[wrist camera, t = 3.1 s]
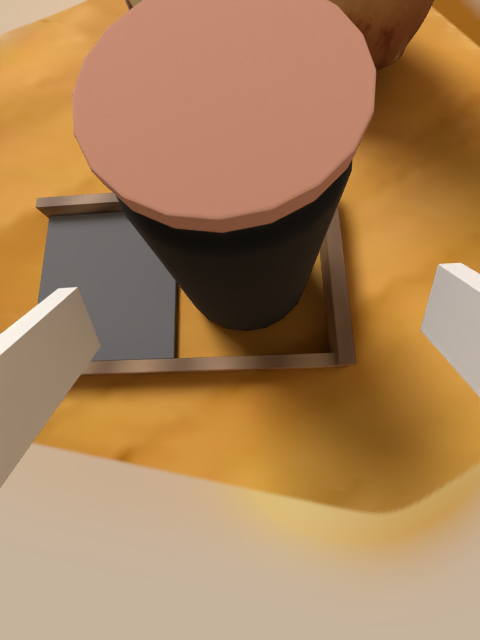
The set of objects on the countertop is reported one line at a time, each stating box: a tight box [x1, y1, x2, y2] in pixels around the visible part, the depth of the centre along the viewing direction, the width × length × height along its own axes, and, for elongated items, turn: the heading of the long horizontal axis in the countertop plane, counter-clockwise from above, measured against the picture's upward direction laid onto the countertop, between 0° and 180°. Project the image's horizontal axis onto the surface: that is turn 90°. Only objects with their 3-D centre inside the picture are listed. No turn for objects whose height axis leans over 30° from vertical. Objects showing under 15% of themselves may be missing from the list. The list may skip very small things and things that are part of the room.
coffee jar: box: [72, 0, 376, 331], centre depth 19 cm, size 11×11×18 cm
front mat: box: [38, 212, 177, 361], centre depth 28 cm, size 13×15×1 cm
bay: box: [36, 193, 356, 376], centre depth 27 cm, size 28×17×3 cm, turn 91°
